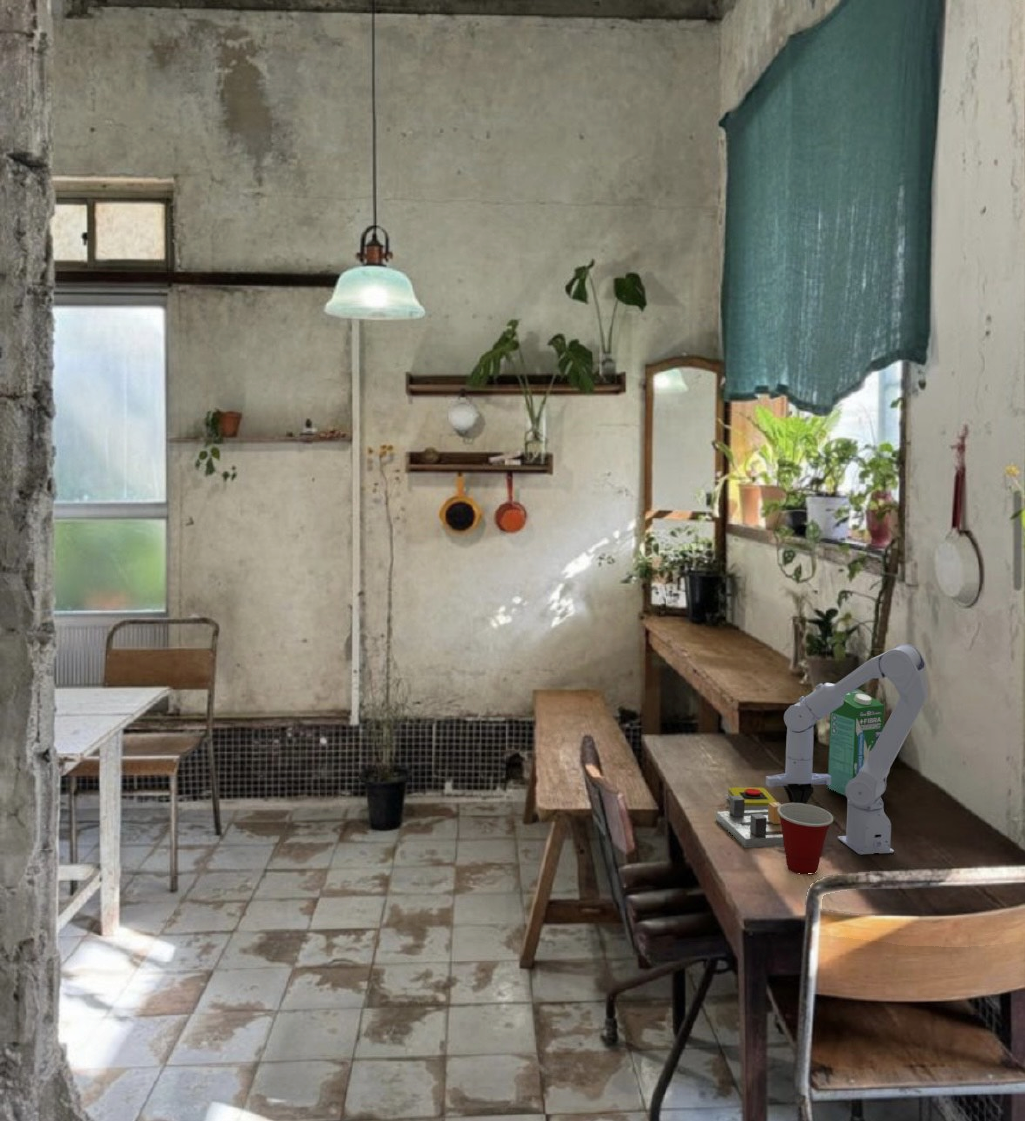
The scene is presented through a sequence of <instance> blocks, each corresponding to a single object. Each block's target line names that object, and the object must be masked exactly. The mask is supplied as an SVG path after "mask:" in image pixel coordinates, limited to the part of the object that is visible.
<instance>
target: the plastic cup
mask: <svg viewBox="0 0 1025 1121" xmlns="http://www.w3.org/2000/svg"><path fill="white" fill-rule="evenodd" d="M777 811H778V814H779V816H780V821H781V826H782V834H783V843H784V846H783V849H784V850H783V851H784V853H785V860H786V861H785V862H786V866H787V869H788V870H789V871H790V872H791V871H792V873H793V872H794V873H793V874H797V873H800V874H799V875H801V874H808V873H815V872H816V871H818V870H819V866H820V861H821V857H822V853H823V849H824V845H825V840H826V836H827V833H828V831H829V828H830V825H832V823H833V822H834V815H833V814H831V812H829V811H828V810H826V809H824V808H822V807H820V806H816V805H813V804H808V803H807V804H803V803H790V802H789V803H788V802H787V803H782V804H781V805H780V806H779V807H778V810H777ZM816 873H817V872H816ZM816 873H815V874H816Z"/></svg>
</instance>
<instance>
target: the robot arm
mask: <svg viewBox="0 0 1025 1121" xmlns="http://www.w3.org/2000/svg"><path fill="white" fill-rule="evenodd" d="M926 668H927V662H926V661H925V659H924V657H923V655H922V654H921V652H920V650H919V649H918V648H917V647H916V646H914V645H911V644H908V643H901V644H899V645H896V646H895V647H894V648H893V649H890V650H887V651H885V652H883V653H880V654H879V655H877V656H875V657H872V658H869V660H867V661H865V662H864V663H863V664H861V665H860V666H859V667H857V668H856V669H855V670H853V671H852V672H850V673H849V674H847V675H846V676H845V677H843V678H842V679H841V680H839V681H838V682H836V683H831V682H825V683H824V684H823V683H822V682H821V683H819V684H817V685H816V686H815V687H814V688H815V690H813V691H811V693H809V694H808V695H806V696H804V695H803V696H801V697H799V698H798V701H799V702H797V703H795V704H792V705H789V707H788V708H787V709H786V711H784V714H783V721H784V725H785V726H786V728H787V729H786V740H785V741H786V742H785V743H786V744H785V745H786V747H785V773H780V774H773V775H767V776H765V786H767V788H774V787H782V786H783V789H784V791H785V793H786V795H787V798H788V801H789V803H803V804H808V802H809V800H810V798H811V797H812V795H813V794H814V790H815V788H814V787H813V786H812V785H815V786H816V785H826V786H828V785H831V776H830V775H828V773H814V772H813V761H814V738H815V737H814V725H815V724H816V723H817V722H818V721H821V720H822V719H824V718H825V717H827V716H828V715H829V714H830V713H831V712H833V711H834V710H836V709H837V708H839V707H840V706H842V705H843V703H844V697H845V695H846V694H848V693H850V692H851V691H853V690H855V689H858V688H859V687H861V686H862V685H864V684H865V683H867V682H869V681H871V680H872V679H879V680H881V679H885V678H887V680H889V681H890V682H891V683H892V684H893V686H894V688H895V689H896V690H895V691H896V692H897V694H898V696H899V698H898V700H897V702H896V704H895V705H894V708H893V710H892V712H891V713H890V716H889V718H887V719H888V720H887V721H886V722H885V724H884V728H883V730H882V732H881V734H880V736H879V738H878V740H877V742H876V744H875V746H874V747H873V749H872V751H871V753H870V755H869V757H868V759H867V761H866V762H865V764H864V765H863V766H862V768H861V769H860V771H859V773H858V775H857V776H856V777H855V778H853V779H852V780H850V781H849V782H848V783H847V785H846V788H845V793H846V796H845V797H846V799H847V803H846V805H847V806H846V807H847V808H846V830H845V835H840V836H837V839H838V840H839V841H841V842H842V843H843V844H844V845H846V846H847V847H848V848H850V850H852V851H854V852H855V853H856V854H858V855H874V853H879V854H894V853H895V850H894V849H893V848H891V838H892V837H891V835H892V823H891V820H890V819H889V817H888V816H887V815H886V813H885V811H884V809H885V808H884V801H883V799H882V795H883V794H884V793H885V791H886V790H887V789H886V788H887V779H888V778H887V777H888V776H889V774H890V772H891V771H890V769H891V767H892V765H893V763H894V761H895V759H896V758H897V756H898V754H899V752H900V750H901V748H902V746H903V744H904V742H905V740H906V739H907V737H908V735H909V733H910V731H912V728H913V726H914V724H915V722H916V720H917V719H918V717H919V715H920V714H921V711H922V709H923V708H924V705H925V704H926V702H927V700H928V697H929V692H928V681H927V674H926V670H927V669H926ZM893 852H894V853H893Z"/></svg>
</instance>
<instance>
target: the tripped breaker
mask: <svg viewBox="0 0 1025 1121" xmlns="http://www.w3.org/2000/svg"><path fill="white" fill-rule="evenodd" d="M780 805H782V804H781V803H780V802H779V801H776V803H768V820H769V821H770V822H772V823H773V824H781V821H780V816H779V814H778V811H777V810H778V807H779V806H780Z"/></svg>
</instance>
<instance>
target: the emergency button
mask: <svg viewBox="0 0 1025 1121" xmlns="http://www.w3.org/2000/svg"><path fill="white" fill-rule="evenodd" d="M727 790H728V791H727V792H728V793H727V794H725V796H728V799H727V801H728V800H729V801H730V796H741V797H742V798H743V799H744V800H745V804H744V811H745V810H768V803H776V802H777V800H776V799H775V798H774V797H773V796H772V795H771V794H770V793H769V792H768V790H766V788H764V787H728V789H727ZM729 801H728V802H729Z"/></svg>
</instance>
